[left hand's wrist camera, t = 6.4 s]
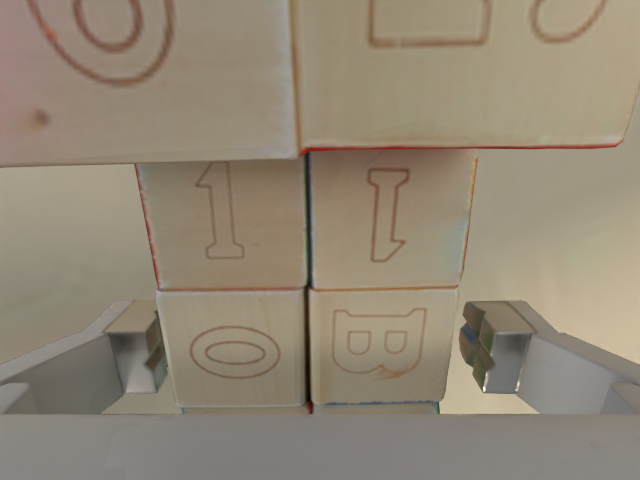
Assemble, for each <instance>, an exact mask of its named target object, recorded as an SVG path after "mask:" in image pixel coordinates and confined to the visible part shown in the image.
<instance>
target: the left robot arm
mask: <svg viewBox="0 0 640 480" xmlns="http://www.w3.org/2000/svg"><path fill="white" fill-rule="evenodd" d="M463 317H464V318H465V320H466V321H467V322H466V324H465V325H464V326H463V327H462V328H461V329H460V335H459V344H460V351H461V354H462V357H463V359H464V360H465V362H466V363H467V364H468V365H470V366H472V367H473V374H472V375H473V376H474V378H475V380H476V382H477V383H478V385H479V387H480V389H481V390H482V392H483V393H499V394H517V396H518V397H519V398H521V399H522V400H523V401H524V402H526V403H527V404H528V405H530V406H531V407H532V408H534V409H535V410H536V411H538V412H539V413H540V414H100V413H101V412H103V411H104V410H105V409H106V408H108V407H109V406H110V405H112V404H113V403H114V402H116V401H117V400H118V399H120V398H121V397H122V396H123V394H140V393H157V392H158V390H159V389H160V387H161V385H162V383H163V382H164V380H165V378H166V376H167V375H168V374H167V367H168V362H167V356H166V351H165V346H164V340H163V335H162V330H161V325H160V319H159V314H158V309H157V303H156V301H135V300H122V301H115V302H114V303H113V304H111V305H110V306H109V307H108V308H107V309H106V310H105V311H104V312H103V313H102V314H101V315H100V316H99V317H98V318H97V319H96V320H94V321H93V322H92V323H91V324H90V325H89V326H88V327H87V328H86V329H85V330H84V331H83V332H82V333H74V334H72V335H70V336H67V337H65V338H62V339H60V340H58V341H55V342H53V343H51V344H48V345H46V346H44V347H41V348H39V349H36V350H34V351H32V352H29V353H27V354H25V355H22V356H20V357H17V358H15V359H13V360H10V361H8V362H6V363H3V364H1V365H0V480H640V365H639V364H637V363H634V362H632V361H629V360H627V359H625V358H622V357H620V356H618V355H615V354H613V353H611V352H608V351H606V350H603V349H601V348H599V347H596V346H594V345H592V344H589V343H587V342H585V341H582V340H580V339H578V338H575V337H573V336H570V335H568V334H566V333H558V332H557V331H556V330H555V329H554V328H553V327H552V326H551V325H550V324H549V323H548V322H547V321H546V320H545V319H543V318H542V317H541V316H540V315H539V314H538V313H537V312H536V311H535V310H534V309H533V308H532V307H531V306H530V305H529V304H528V303H527V302H525V301H522V300H511V301H471V302H466V304H465V306H464V310H463Z"/></svg>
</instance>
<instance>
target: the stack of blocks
mask: <svg viewBox="0 0 640 480" xmlns="http://www.w3.org/2000/svg"><path fill="white" fill-rule="evenodd" d="M639 88H640V0H0V168H3V167H32V166H69V165H107V164H135V169H136V174H137V180H138V185H139V190H140V196H141V201H142V206H143V212H144V217H145V222H146V227H147V233H148V238H149V243H150V249H151V254H152V260H153V265H154V271H155V276H156V280H157V284H158V288H157V290H156V293H155V298H156V303H157V309H158V314H159V319H160V325H161V330H162V335H163V340H164V346H165V351H166V356H167V362H168V367H169V372H170V377H171V382H172V387H173V392H174V398H175V402H176V404H177V406H178V407H180V408H181V409H182V411H183V414H440V410H439V401H441V400H442V399H443V398H444V395H445V391H446V383H447V375H448V368H449V362H450V355H451V347H452V339H453V331H454V323H455V317H456V311H457V305H458V296H459V292H458V284H459V282H460V280H461V277H462V273H463V270H464V260H465V254H466V248H467V240H468V233H469V225H470V215H471V206H472V198H473V190H474V182H475V174H476V166H477V149H594V148H609V147H616V146H617V145H619V144H620V143H621V142H623V139H624V136H625V133H626V130H627V127H628V124H629V121H630V118H631V115H632V112H633V109H634V106H635V102H636V98H637V95H638V91H639Z"/></svg>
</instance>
